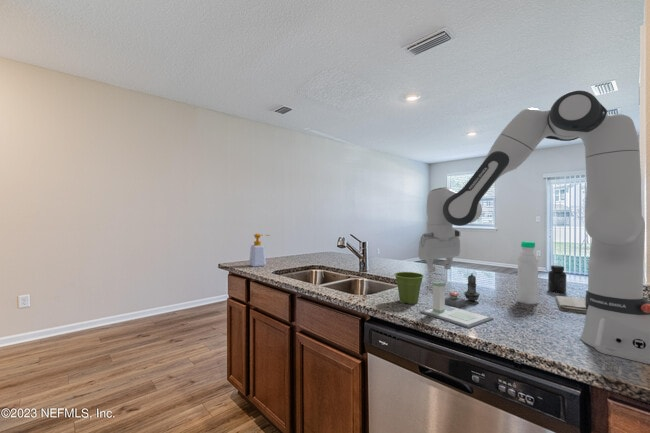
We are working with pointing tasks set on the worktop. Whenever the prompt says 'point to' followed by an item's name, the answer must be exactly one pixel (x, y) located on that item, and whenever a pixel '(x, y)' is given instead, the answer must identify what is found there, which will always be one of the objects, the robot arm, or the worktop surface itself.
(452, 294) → the button
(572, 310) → the washcloth
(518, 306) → the worktop surface
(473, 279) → the dark tiered figurine
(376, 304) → the worktop surface
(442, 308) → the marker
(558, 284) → the supplement bottle
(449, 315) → the white rectangular board
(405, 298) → the plant pot
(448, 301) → the button housing
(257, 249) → the soap bottle
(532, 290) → the water bottle
